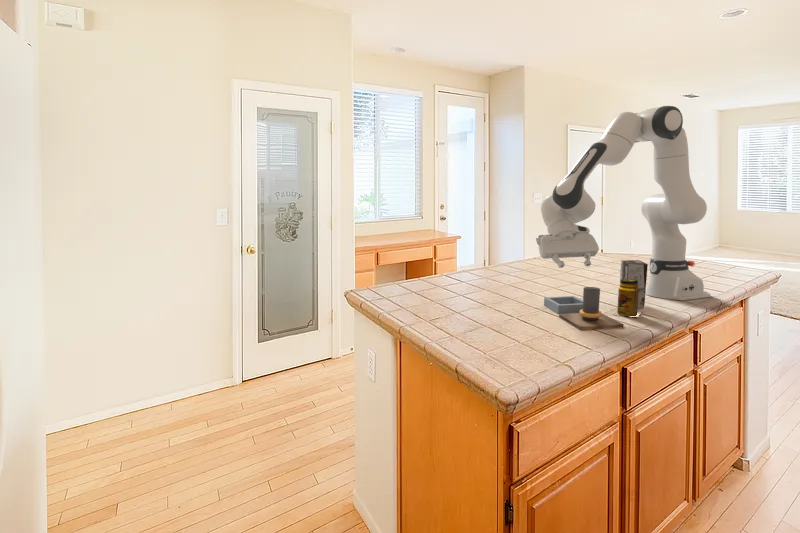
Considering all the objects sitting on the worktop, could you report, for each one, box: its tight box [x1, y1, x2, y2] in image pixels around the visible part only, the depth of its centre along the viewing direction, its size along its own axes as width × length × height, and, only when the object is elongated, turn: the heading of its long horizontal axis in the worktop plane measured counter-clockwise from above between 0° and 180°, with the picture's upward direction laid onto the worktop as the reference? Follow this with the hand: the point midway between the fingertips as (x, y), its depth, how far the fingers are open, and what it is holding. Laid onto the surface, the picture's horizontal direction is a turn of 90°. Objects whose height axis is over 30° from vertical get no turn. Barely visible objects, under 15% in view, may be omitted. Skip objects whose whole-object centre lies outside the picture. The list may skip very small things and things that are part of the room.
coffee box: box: [619, 259, 649, 310], centre depth 158 cm, size 9×6×16 cm
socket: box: [543, 295, 583, 315], centre depth 157 cm, size 11×11×3 cm
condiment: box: [613, 279, 644, 317], centre depth 148 cm, size 7×8×12 cm
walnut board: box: [558, 312, 625, 331], centre depth 142 cm, size 14×14×1 cm
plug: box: [580, 286, 602, 321], centre depth 141 cm, size 6×6×10 cm
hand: (575, 265), depth 150 cm, fingers open, 8 cm apart
